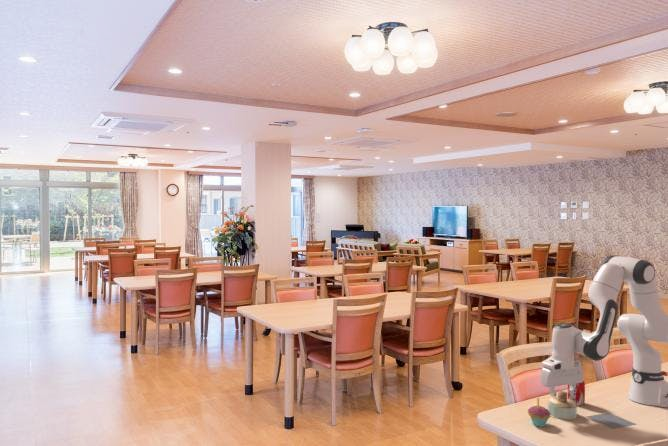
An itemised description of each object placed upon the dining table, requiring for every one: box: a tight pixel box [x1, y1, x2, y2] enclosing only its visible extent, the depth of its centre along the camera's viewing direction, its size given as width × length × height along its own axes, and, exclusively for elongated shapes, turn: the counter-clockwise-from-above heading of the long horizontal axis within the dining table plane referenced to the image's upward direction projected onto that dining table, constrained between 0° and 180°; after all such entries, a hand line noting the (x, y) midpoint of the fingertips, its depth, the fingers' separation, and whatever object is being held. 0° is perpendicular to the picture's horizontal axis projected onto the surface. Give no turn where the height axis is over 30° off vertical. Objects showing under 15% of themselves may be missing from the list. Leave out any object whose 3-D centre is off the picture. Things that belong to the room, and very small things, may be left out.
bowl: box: [547, 399, 578, 420], centre depth 220 cm, size 11×11×5 cm
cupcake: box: [527, 397, 551, 428], centre depth 210 cm, size 9×8×12 cm
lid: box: [549, 390, 575, 408], centre depth 220 cm, size 10×10×5 cm
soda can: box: [567, 380, 586, 407], centre depth 233 cm, size 7×7×12 cm
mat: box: [585, 412, 637, 430], centre depth 214 cm, size 13×13×1 cm
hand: (562, 394), depth 220 cm, fingers open, 8 cm apart
